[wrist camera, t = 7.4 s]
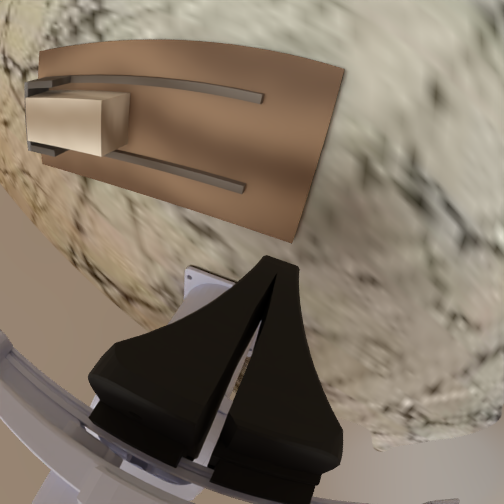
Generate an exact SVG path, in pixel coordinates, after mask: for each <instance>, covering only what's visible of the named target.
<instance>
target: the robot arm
mask: <svg viewBox="0 0 504 504" xmlns="http://www.w3.org/2000/svg"><path fill="white" fill-rule="evenodd" d="M299 270H300V269H299V267H298V266H296V265H293V264H290V263H287V262H285V261H282V260H279V259H276V258H273V257H270V256H267V255H266V256H263V257H262V259H261V260H260V261H259V262H258V263H257V264H256V266H255V267H254V268H253V269H252V270H250V271H249V272H248V273H247V274H246V275H245V276H244V277H243V278H242V279H240V280H239V281H238V282H237V283H234V282H231V281H228V280H226V279H223V278H220V277H218V276H215V275H212V274H210V273H207V272H204V271H202V270H199V269H196V268H194V267H191V266H189V267H187V268H186V269H185V281H184V301H183V302H182V304H181V305H180V307H179V308H178V310H177V311H176V313H175V314H174V316H173V317H172V319H171V320H170V322H169V323H168V325H166V326H164V327H161V328H159V329H156V330H154V331H151V332H149V333H146V334H143V335H140V336H137V337H133V338H130V339H127V340H123V341H120V342H117V343H115V344H114V345H113V346H112V347H111V348H110V349H109V350H108V351H107V352H106V353H105V354H104V355H103V356H102V357H101V358H100V360H99V361H98V362H97V364H96V365H95V366H94V368H93V369H92V371H91V372H90V373H89V375H88V380H89V383H90V385H91V387H92V388H93V390H94V392H95V393H96V395H95V397H94V399H93V401H92V404H91V406H90V407H89V406H87V405H86V404H84V403H83V402H82V401H80V400H79V399H77V398H76V397H74V396H73V395H72V394H70V393H69V392H67V391H66V390H65V389H63V388H62V387H61V386H59V385H58V384H57V383H55V382H54V381H53V380H51V379H50V378H49V377H48V376H46V375H45V374H44V373H43V372H41V371H40V370H39V369H38V368H37V367H35V366H34V365H33V364H32V363H31V362H29V361H28V360H27V359H26V358H25V357H24V356H23V355H22V354H20V353H19V352H18V351H17V350H16V349H15V348H14V347H13V345H12V343H11V342H10V341H9V339H8V338H7V336H6V335H5V334H4V333H3V332H2V330H1V329H0V418H1V420H2V421H3V422H4V423H5V424H6V425H7V426H8V428H9V429H10V430H11V431H12V432H13V433H14V434H15V435H16V436H17V437H18V438H19V439H20V441H21V442H22V443H24V445H25V446H26V447H27V448H28V449H30V451H32V452H33V453H34V454H35V455H36V456H37V457H38V458H39V459H40V460H41V461H42V462H43V463H44V464H45V465H46V466H48V467H49V468H50V469H51V471H50V473H49V474H48V476H47V478H46V479H45V481H44V483H43V484H42V486H41V488H40V489H39V491H38V493H37V495H36V497H35V498H34V500H33V502H32V503H31V504H194V503H192V502H189V501H190V500H193V499H194V498H195V497H196V495H199V494H200V493H201V491H202V490H203V489H204V488H206V489H209V490H212V491H214V492H218V493H220V494H223V495H226V496H229V497H233V498H236V499H239V500H242V501H246V502H249V503H253V504H367V503H355V502H346V501H337V500H330V499H324V498H318V497H312V496H313V492H314V489H315V485H318V484H319V482H320V479H321V475H322V474H323V473H325V472H328V471H330V470H333V469H334V468H336V467H337V466H339V465H340V462H341V458H342V452H343V429H342V427H341V426H340V424H339V422H338V420H337V418H336V416H335V414H334V412H333V410H332V408H331V406H330V404H329V402H328V400H327V397H326V395H325V393H324V391H323V388H322V386H321V383H320V380H319V378H318V375H317V372H316V370H315V367H314V364H313V361H312V358H311V354H310V351H309V347H308V343H307V339H306V335H305V330H304V325H303V320H302V313H301V306H300V297H299ZM246 357H251V359H250V362H249V364H248V366H247V369H246V371H245V374H244V376H243V379H242V381H241V383H240V386H239V388H238V391H237V393H236V396H235V398H234V400H233V401H232V400H230V399H229V397H230V395H231V393H232V390H233V388H234V386H235V383H236V381H237V378H238V376H239V374H240V371H241V369H242V366H243V364H244V361H245V359H246ZM424 504H459V499H458V498H457V499H445V500H435V501H430V502H426V503H424Z"/></svg>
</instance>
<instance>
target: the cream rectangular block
mask: <svg viewBox="0 0 504 504" xmlns="http://www.w3.org/2000/svg"><path fill="white" fill-rule="evenodd" d="M25 101H26V123H27V136H28V141H32V142H37V143H42V144H47V145H52V146H56V147H61V148H65V149H70V150H74V151H79V152H83V153H87V154H92V155H96V156H100V157H102V156H104V155H106V154H108V153H110V152H112V151H114V150H116V149H118V148H120V147H122V146H125V145H127V144H128V126H129V106H130V93H124V92H110V91H91V90H49V91H46V92H43V93H39V94H36V95H33V96H30V97H27V98H25Z"/></svg>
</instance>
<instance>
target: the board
mask: <svg viewBox="0 0 504 504" xmlns="http://www.w3.org/2000/svg"><path fill="white" fill-rule="evenodd" d="M344 70H345V69H342V68H339V67H336V66H332V65H329V64H325V63H322V62H318V61H314V60H311V59H307V58H302V57H298V56H294V55H289V54H285V53H280V52H275V51H270V50H264V49H259V48H253V47H246V46H239V45H232V44H223V43H214V42H202V41H187V40H123V41H108V42H97V43H88V44H80V45H73V46H66V47H60V48H54V49H49V50H44V51H40V53H39V71H38V79H36V80H32V81H28V82H25V98H27V97H30V96H33V95H36V94H39V93H43V92H46V91H49V90H91V91H110V92H124V93H130V106H129V126H128V144H127V145H125V146H122V147H120V148H118V149H116V150H114V151H112V152H110V153H108V154H106V155H104V156H102V157H100V156H96V155H92V154H87V153H83V152H79V151H74V150H70V149H65V148H61V147H56V146H52V145H47V144H42V143H37V142H32V141H28V136H27V144H28V150H29V151H33V152H37V153H41V155H42V163H43V164H45V165H48V166H51V167H55V168H58V169H62V170H65V171H68V172H72V173H75V174H79V175H82V176H85V177H89V178H92V179H95V180H98V181H102V182H105V183H108V184H111V185H115V186H118V187H121V188H124V189H128V190H131V191H134V192H137V193H140V194H144V195H147V196H150V197H153V198H156V199H159V200H163V201H166V202H169V203H172V204H175V205H178V206H181V207H184V208H187V209H191V210H194V211H197V212H200V213H203V214H206V215H209V216H212V217H215V218H218V219H221V220H224V221H227V222H230V223H233V224H236V225H239V226H242V227H245V228H248V229H251V230H254V231H257V232H260V233H263V234H266V235H269V236H272V237H274V238H277V239H280V240H283V241H286V242H289V243H292V242H293V239H294V236H295V233H296V230H297V227H298V224H299V221H300V218H301V215H302V212H303V209H304V206H305V203H306V199H307V196H308V193H309V190H310V187H311V183H312V180H313V177H314V174H315V171H316V167H317V164H318V161H319V157H320V154H321V151H322V147H323V144H324V141H325V137H326V134H327V130H328V127H329V124H330V120H331V117H332V113H333V110H334V106H335V103H336V99H337V95H338V92H339V88H340V84H341V81H342V77H343V73H344ZM25 118H26V101H25ZM26 133H27V123H26Z"/></svg>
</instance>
